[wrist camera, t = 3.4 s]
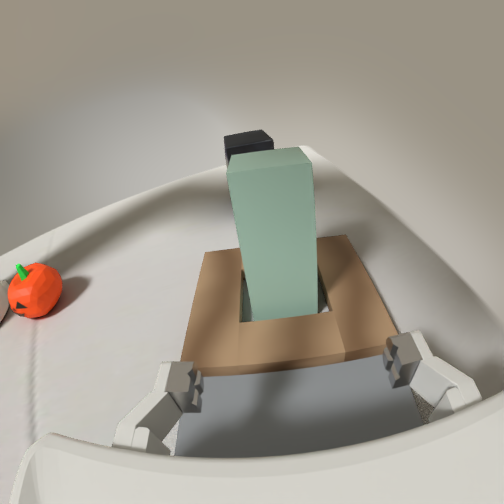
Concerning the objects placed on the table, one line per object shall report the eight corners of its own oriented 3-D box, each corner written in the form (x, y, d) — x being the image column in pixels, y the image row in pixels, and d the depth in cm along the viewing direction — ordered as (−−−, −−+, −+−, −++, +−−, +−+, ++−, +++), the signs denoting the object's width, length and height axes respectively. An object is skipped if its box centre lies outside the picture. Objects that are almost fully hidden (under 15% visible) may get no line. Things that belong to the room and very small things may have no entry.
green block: (254, 323, 23) (226, 173, 17) (253, 285, 27) (231, 155, 21) (317, 315, 22) (311, 162, 16) (307, 278, 27) (298, 146, 21)
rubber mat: (168, 577, 6) (162, 578, 6) (190, 383, 18) (186, 377, 18) (447, 544, 5) (454, 543, 5) (393, 358, 17) (395, 351, 17)
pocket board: (184, 378, 19) (178, 368, 18) (207, 261, 32) (205, 252, 31) (397, 351, 18) (400, 340, 17) (345, 244, 31) (345, 234, 30)
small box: (232, 196, 48) (221, 135, 43) (271, 190, 48) (263, 128, 43) (236, 223, 39) (222, 146, 34) (284, 214, 39) (275, 137, 34)
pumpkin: (67, 318, 27) (38, 275, 23) (18, 333, 25) (-12, 294, 21) (74, 278, 32) (52, 237, 28) (28, 293, 31) (5, 256, 27)
